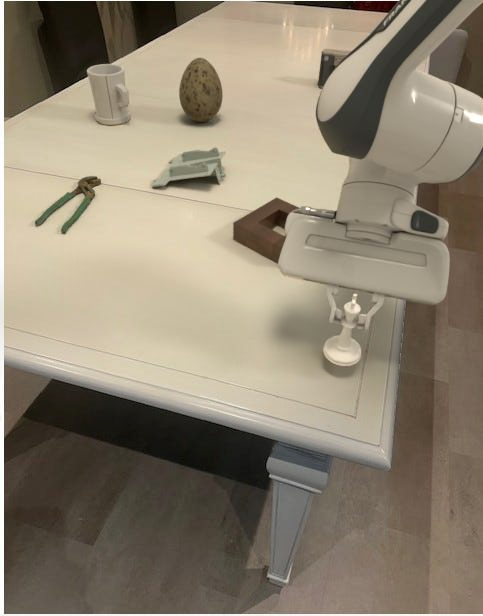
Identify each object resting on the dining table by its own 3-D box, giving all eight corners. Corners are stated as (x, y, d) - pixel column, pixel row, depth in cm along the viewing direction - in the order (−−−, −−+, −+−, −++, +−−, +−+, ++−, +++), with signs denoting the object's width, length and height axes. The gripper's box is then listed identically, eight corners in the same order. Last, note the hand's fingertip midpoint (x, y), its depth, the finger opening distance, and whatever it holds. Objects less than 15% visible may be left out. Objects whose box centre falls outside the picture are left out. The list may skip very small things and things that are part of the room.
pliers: (64, 235, 86) (63, 229, 85) (32, 229, 87) (30, 223, 86) (113, 183, 100) (112, 177, 99) (84, 178, 101) (83, 172, 100)
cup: (140, 113, 127) (135, 65, 119) (131, 127, 121) (124, 77, 112) (102, 111, 128) (93, 62, 120) (90, 125, 121) (81, 74, 113)
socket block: (326, 238, 87) (329, 221, 84) (286, 267, 80) (287, 250, 78) (275, 213, 93) (276, 197, 90) (233, 239, 86) (233, 222, 84)
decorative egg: (204, 132, 119) (202, 67, 109) (172, 121, 124) (167, 58, 114) (231, 119, 126) (231, 57, 115) (199, 109, 130) (197, 48, 120)
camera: (315, 88, 145) (320, 51, 138) (319, 82, 149) (323, 46, 142) (353, 92, 142) (360, 55, 136) (356, 86, 146) (362, 50, 140)
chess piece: (363, 343, 65) (378, 286, 58) (358, 370, 61) (373, 313, 54) (327, 334, 66) (337, 278, 59) (320, 360, 62) (330, 303, 55)
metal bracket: (230, 138, 103) (207, 170, 92) (236, 164, 106) (216, 197, 96) (171, 148, 108) (143, 178, 97) (179, 172, 112) (154, 204, 101)
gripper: (287, 196, 59) (263, 307, 58) (463, 225, 54) (438, 344, 54) (292, 210, 65) (270, 310, 65) (451, 236, 61) (428, 344, 60)
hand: (348, 326), depth 59 cm, fingers closed on chess piece
